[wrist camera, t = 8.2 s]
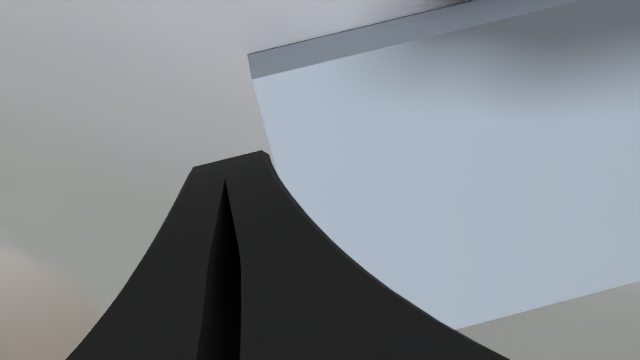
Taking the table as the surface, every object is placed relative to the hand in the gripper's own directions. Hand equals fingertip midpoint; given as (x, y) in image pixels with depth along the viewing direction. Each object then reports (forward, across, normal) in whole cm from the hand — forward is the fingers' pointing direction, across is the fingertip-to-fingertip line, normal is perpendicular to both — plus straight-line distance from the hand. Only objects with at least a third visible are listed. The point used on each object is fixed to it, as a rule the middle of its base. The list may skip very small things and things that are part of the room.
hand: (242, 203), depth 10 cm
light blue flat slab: (+9, -8, +8) cm, 15 cm away
